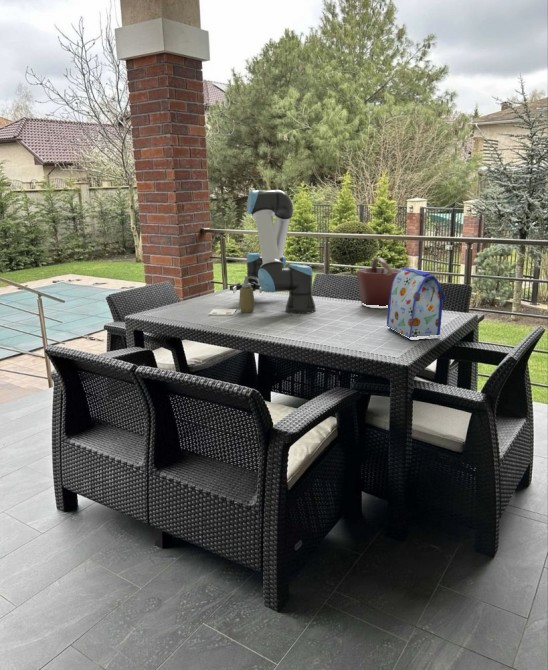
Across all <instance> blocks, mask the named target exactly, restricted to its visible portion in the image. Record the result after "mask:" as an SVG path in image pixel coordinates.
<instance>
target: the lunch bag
mask: <svg viewBox="0 0 548 670" xmlns="http://www.w3.org/2000/svg"><path fill="white" fill-rule="evenodd" d="M399 269H400V271H399V272H398V274H397V275H396V276H395V277H394V280H393V283H392V287H391V291H390V299H389V305H388V309H387V318H386V327H387V326H388V327H390V328H392V329H394V330H396V331H397V332H399V333H401V334H403V335H405V336H407V337H409V338H410V337H417V336H430V335H440V334H441V326H442V316H443V301H446V300H447V296H446V295H445V293H444V291H443V289H442V286H441V284H440V282H439V280H438V279H437V278H436V277H435V276H434V275H432V274H431V273H430V272H425V271H423V270H418V269H415V268H408V267H402V268H399Z"/></svg>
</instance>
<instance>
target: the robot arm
mask: <svg viewBox="0 0 548 670" xmlns="http://www.w3.org/2000/svg"><path fill="white" fill-rule="evenodd" d="M246 211H247V214H249V215H251V217H252V219H253V220H254V221H255V224H256V231H257V235H258V241H259V243H258V244H259V248H260V253H259V252H251V253H250V252H249V253H247V255H246V276H247V277H248V281H249V283H251V288H253V292H255V291H257V290H258V291H259V294H262V292H264V293H279V292H288V298H287V301H286V305H285V311H286V312H287V311H288V312H287V313H290V312H292V313H291V314H308V313H307V312H311V313H313V312H312V311H314V312H316V304H315V300H314V297H313V268H312V267H311V266H309V265H305V264H297V263H296V264H295V263H290V264H288V267H286V265H287V264H286V263H287V259H286V256H284V251H285V246H286V241H287V235H288V230H289V226H290V225H289V224H290V220H291V219H292V218H293V214H294V206H293V202H292V199H291V197H290V196H289V195H288V194H287V193H286V192H284V191H283V190H280V189H264V190H263V189H257V190H255V189H254V190H251V191H250V192H249V193H248V196H247V202H246ZM274 217H275V219H274ZM241 288H242V283H240V282H238V283H235V284H231V285H229V291H231V292H232V294H235V293H236V292H237V291H240V289H241Z"/></svg>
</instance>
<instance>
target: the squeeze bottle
mask: <svg viewBox="0 0 548 670" xmlns="http://www.w3.org/2000/svg"><path fill="white" fill-rule="evenodd" d="M241 284H242V288H241V289H240V290H239V297H238V298H239V300H238V302H239V303H238V305H239V308H240V312H241V313H253V312H254V309H255V306H256V303H255V295H254V291H253V288H251V283H249V281H248V277H247V275H245V276H244V279H243V283H241Z"/></svg>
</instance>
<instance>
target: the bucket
mask: <svg viewBox="0 0 548 670" xmlns="http://www.w3.org/2000/svg"><path fill="white" fill-rule="evenodd" d="M378 263H380V264H381V265H382V267H378ZM400 269H401V268H392V267H391V266H390V265H389V264H388V263H387V261H386V260H385V259H384V258H383V257H375V258H374V259H373V260H372V263H371V267H365V268H361V269H357V270H356V278H357V284H358V288H359V296H360V301H361V304H362V303H364V304H366V305H379V306H386V305H389V299H390V291H391V287H392V283H393V280H394V277H395V276H396V275H397V274H398V272H399V271H400Z"/></svg>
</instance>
